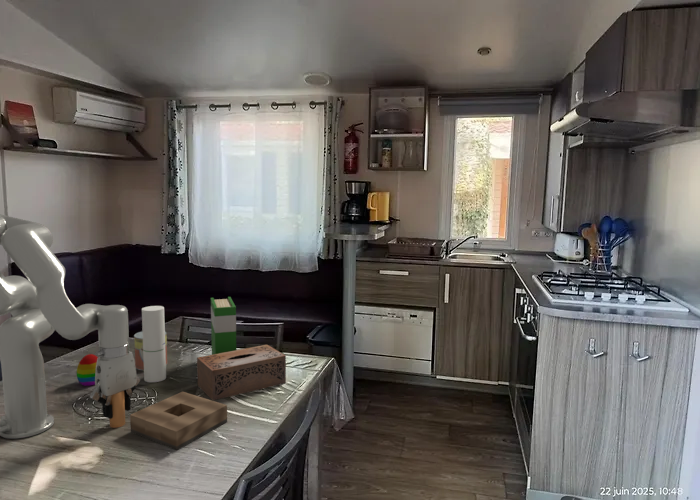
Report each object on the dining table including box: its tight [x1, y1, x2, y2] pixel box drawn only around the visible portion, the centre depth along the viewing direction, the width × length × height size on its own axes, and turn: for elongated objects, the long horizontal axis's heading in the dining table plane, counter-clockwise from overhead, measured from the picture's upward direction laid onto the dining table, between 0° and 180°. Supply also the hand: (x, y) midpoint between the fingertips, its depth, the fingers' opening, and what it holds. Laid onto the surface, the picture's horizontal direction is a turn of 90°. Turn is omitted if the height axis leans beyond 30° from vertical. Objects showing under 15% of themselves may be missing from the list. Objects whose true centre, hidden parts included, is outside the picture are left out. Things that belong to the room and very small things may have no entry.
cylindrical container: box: [141, 305, 167, 383], centre depth 169 cm, size 7×7×25 cm
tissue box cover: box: [196, 344, 287, 401], centre depth 166 cm, size 26×14×10 cm, turn 125°
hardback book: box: [210, 296, 237, 355], centre depth 184 cm, size 18×7×24 cm, turn 20°
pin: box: [108, 391, 126, 429], centre depth 137 cm, size 4×4×12 cm
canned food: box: [133, 330, 168, 371], centre depth 183 cm, size 11×11×12 cm
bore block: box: [129, 391, 228, 451], centre depth 136 cm, size 18×18×5 cm
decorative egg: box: [76, 353, 99, 387], centre depth 165 cm, size 8×8×10 cm
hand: (117, 412), depth 137 cm, fingers open, 4 cm apart
